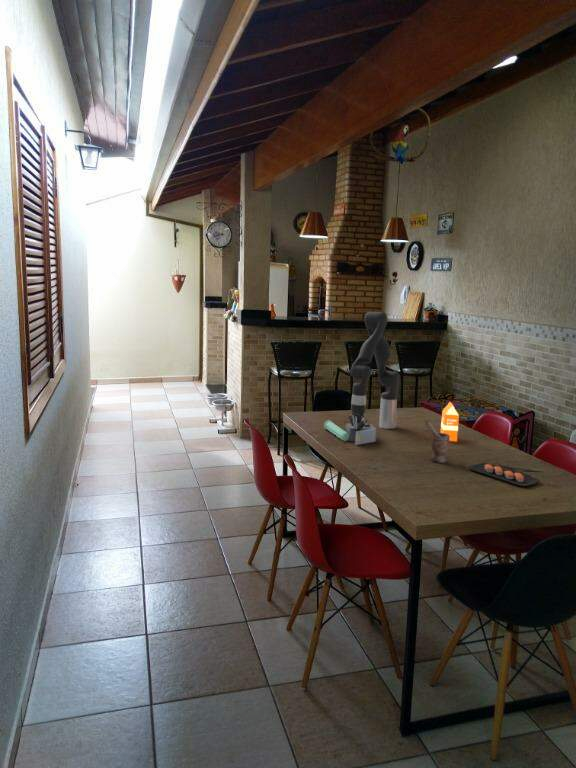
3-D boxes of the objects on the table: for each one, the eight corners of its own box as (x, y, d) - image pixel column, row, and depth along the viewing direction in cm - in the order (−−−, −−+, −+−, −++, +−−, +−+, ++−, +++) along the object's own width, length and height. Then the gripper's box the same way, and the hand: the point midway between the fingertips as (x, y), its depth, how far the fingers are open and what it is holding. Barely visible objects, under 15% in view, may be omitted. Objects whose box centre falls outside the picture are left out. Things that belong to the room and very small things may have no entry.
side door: (374, 440, 305) (375, 427, 304) (377, 441, 304) (378, 428, 302) (354, 444, 297) (355, 431, 295) (357, 445, 295) (358, 432, 294)
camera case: (370, 436, 315) (371, 422, 314) (374, 441, 305) (375, 426, 304) (345, 435, 314) (346, 421, 312) (349, 441, 304) (350, 426, 302)
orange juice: (453, 437, 320) (457, 402, 316) (456, 441, 311) (460, 405, 308) (439, 436, 321) (442, 401, 317) (442, 440, 312) (445, 404, 308)
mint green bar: (349, 430, 302) (331, 418, 325) (339, 435, 301) (322, 422, 324) (352, 440, 304) (334, 427, 327) (342, 444, 303) (325, 431, 326)
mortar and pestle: (426, 463, 271) (429, 422, 267) (420, 457, 279) (423, 418, 276) (449, 463, 272) (453, 422, 268) (443, 458, 280) (447, 418, 277)
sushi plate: (465, 471, 264) (466, 463, 263) (502, 460, 282) (503, 453, 281) (524, 490, 241) (525, 482, 240) (560, 478, 259) (561, 470, 258)
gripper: (372, 405, 293) (370, 437, 296) (357, 400, 304) (355, 431, 308) (360, 406, 290) (358, 439, 293) (345, 401, 301) (343, 432, 304)
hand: (356, 435), depth 300 cm, fingers closed
